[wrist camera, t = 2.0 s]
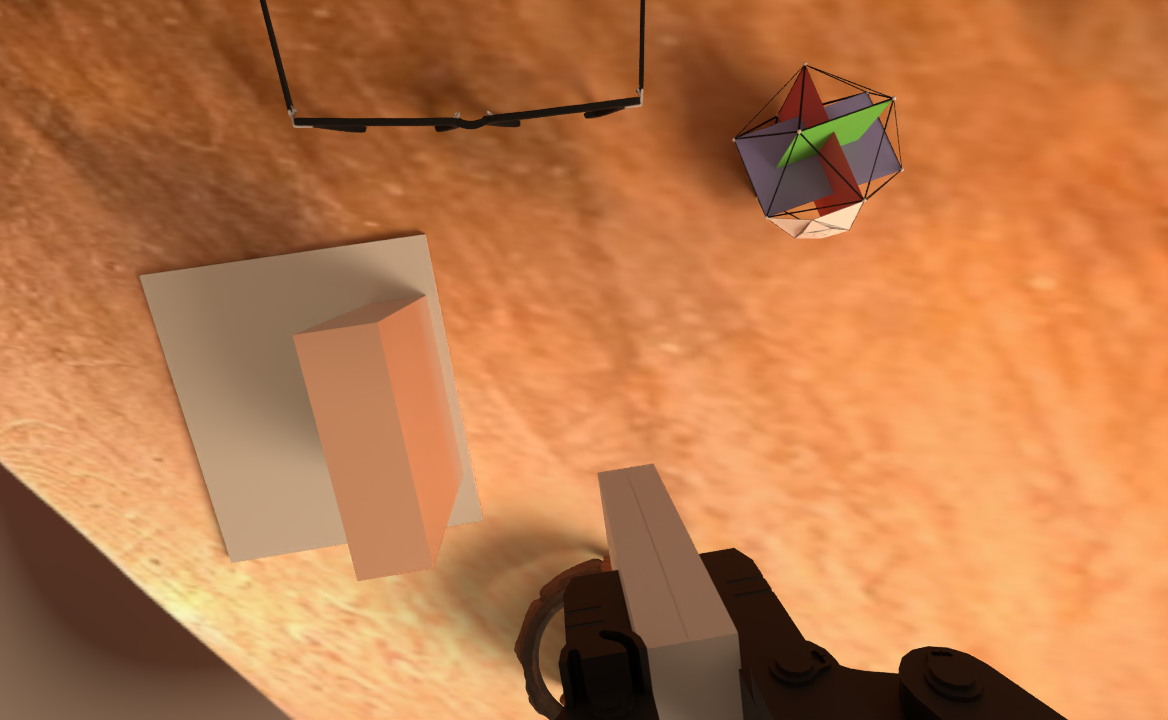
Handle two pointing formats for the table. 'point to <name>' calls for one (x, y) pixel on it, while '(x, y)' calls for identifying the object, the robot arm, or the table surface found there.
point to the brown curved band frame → (534, 629)
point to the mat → (280, 382)
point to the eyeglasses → (457, 122)
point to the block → (384, 432)
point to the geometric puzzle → (818, 157)
